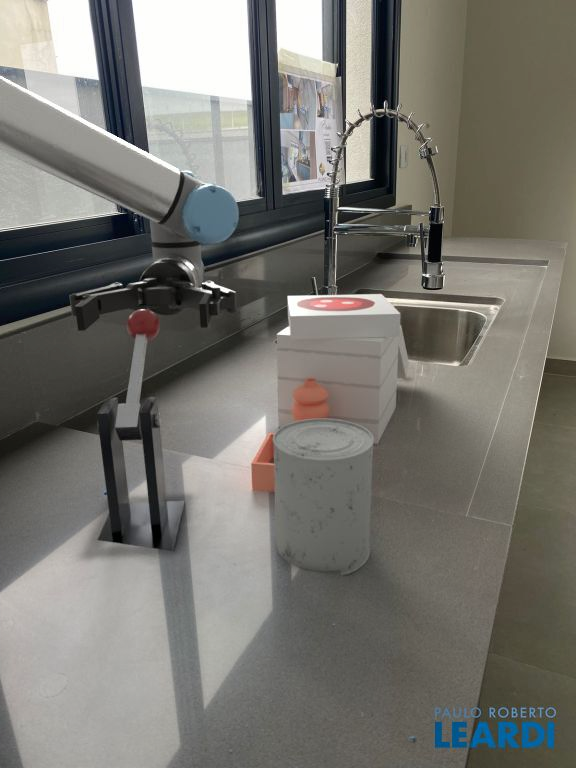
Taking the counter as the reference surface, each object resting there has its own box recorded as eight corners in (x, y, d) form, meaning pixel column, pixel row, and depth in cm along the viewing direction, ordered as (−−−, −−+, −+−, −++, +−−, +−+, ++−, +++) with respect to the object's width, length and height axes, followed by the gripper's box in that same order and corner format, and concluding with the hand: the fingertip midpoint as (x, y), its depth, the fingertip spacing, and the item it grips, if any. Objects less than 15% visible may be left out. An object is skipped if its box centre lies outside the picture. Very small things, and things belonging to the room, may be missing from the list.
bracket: (114, 512, 68) (99, 389, 64) (185, 509, 69) (175, 386, 64) (91, 565, 59) (71, 425, 54) (173, 562, 59) (161, 423, 54)
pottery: (332, 502, 70) (332, 423, 67) (252, 495, 72) (249, 418, 68) (347, 439, 86) (348, 374, 83) (282, 435, 88) (281, 371, 85)
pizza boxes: (418, 384, 109) (424, 284, 103) (388, 452, 82) (394, 322, 76) (316, 374, 115) (316, 279, 109) (257, 435, 88) (254, 313, 82)
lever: (132, 325, 70) (125, 302, 67) (163, 324, 70) (158, 302, 67) (113, 444, 60) (105, 424, 57) (150, 443, 60) (143, 422, 57)
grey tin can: (264, 532, 64) (261, 425, 60) (347, 516, 67) (350, 413, 63) (291, 587, 55) (290, 466, 51) (386, 567, 58) (391, 450, 54)
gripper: (256, 308, 89) (255, 347, 69) (85, 312, 88) (33, 352, 68) (255, 256, 86) (253, 281, 66) (78, 260, 86) (22, 285, 65)
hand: (141, 317), depth 67 cm, fingers open, 13 cm apart
